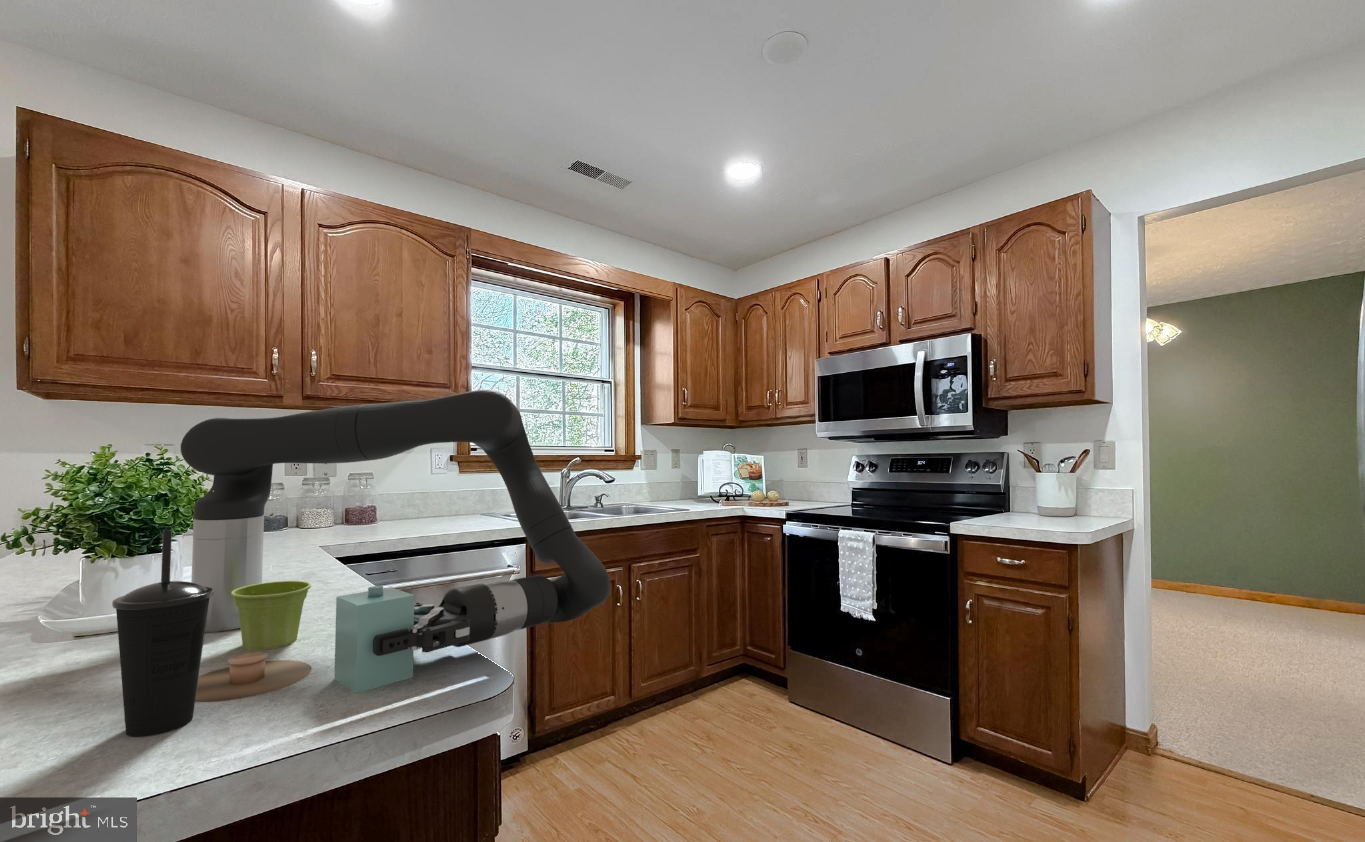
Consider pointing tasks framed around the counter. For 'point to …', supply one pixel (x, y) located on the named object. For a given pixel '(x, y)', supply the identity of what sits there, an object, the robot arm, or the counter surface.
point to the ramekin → (247, 667)
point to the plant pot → (270, 613)
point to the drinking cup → (161, 650)
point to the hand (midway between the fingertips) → (359, 638)
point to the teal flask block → (371, 638)
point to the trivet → (275, 678)
